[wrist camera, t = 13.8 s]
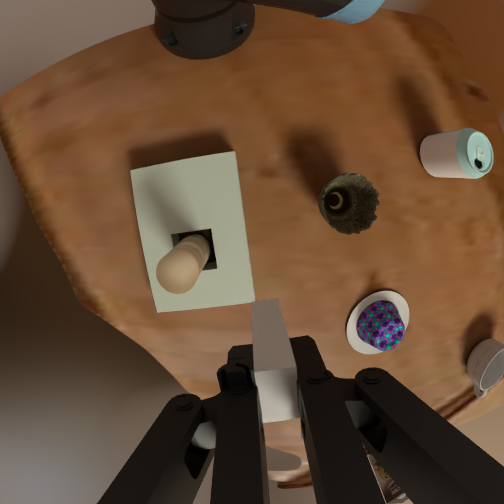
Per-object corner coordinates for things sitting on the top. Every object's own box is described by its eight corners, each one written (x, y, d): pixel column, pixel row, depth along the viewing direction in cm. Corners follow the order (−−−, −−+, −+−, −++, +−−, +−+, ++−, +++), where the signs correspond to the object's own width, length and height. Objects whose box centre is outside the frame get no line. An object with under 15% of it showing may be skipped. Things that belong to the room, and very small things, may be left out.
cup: (349, 231, 42) (370, 242, 34) (302, 218, 42) (315, 226, 34) (362, 183, 41) (386, 184, 33) (316, 168, 40) (332, 164, 32)
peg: (181, 232, 42) (151, 255, 28) (210, 228, 42) (193, 249, 28) (186, 262, 43) (160, 296, 29) (215, 258, 43) (201, 292, 29)
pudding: (358, 363, 48) (368, 379, 43) (334, 313, 45) (344, 327, 40) (413, 329, 47) (427, 342, 42) (396, 275, 44) (411, 286, 39)
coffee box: (392, 433, 53) (417, 481, 37) (407, 437, 54) (432, 481, 38) (366, 456, 55) (385, 504, 39) (382, 459, 55) (402, 504, 40)
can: (453, 170, 40) (501, 171, 28) (425, 182, 41) (473, 185, 29) (441, 131, 39) (487, 122, 27) (411, 141, 39) (457, 132, 27)
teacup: (473, 332, 47) (495, 348, 40) (499, 333, 48) (519, 347, 40) (448, 385, 50) (465, 405, 43) (475, 382, 51) (491, 399, 43)
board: (140, 171, 39) (130, 170, 36) (235, 154, 39) (234, 151, 35) (164, 301, 44) (157, 312, 40) (254, 291, 44) (255, 301, 40)
